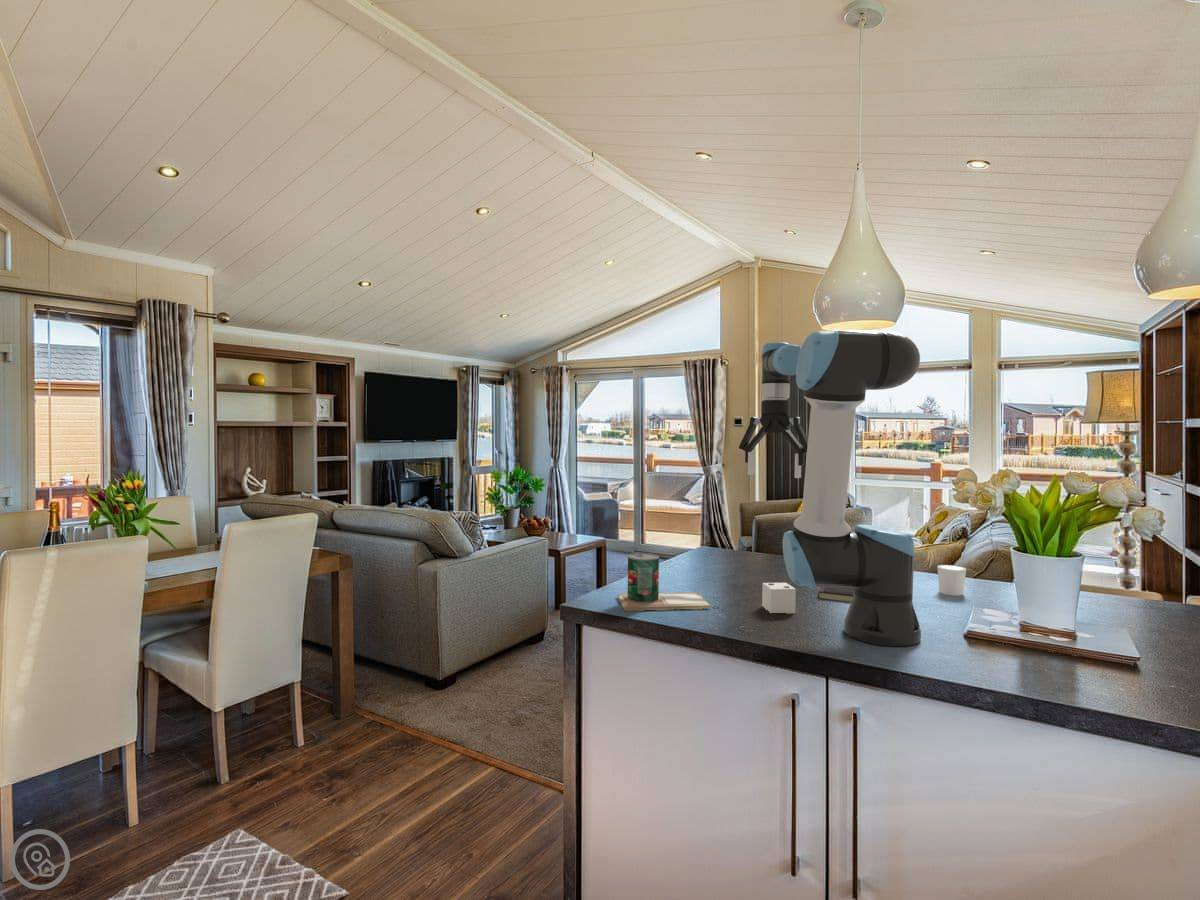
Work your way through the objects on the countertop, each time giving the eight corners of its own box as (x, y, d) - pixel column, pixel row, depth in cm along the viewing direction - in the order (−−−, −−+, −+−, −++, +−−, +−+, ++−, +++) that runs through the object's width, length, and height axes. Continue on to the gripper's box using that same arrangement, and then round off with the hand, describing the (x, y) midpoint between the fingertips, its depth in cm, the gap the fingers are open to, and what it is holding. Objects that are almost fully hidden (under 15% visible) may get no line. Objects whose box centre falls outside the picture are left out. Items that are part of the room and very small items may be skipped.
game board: (710, 609, 156) (710, 604, 156) (625, 611, 154) (625, 607, 154) (697, 595, 168) (697, 591, 168) (618, 597, 166) (618, 593, 166)
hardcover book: (887, 587, 181) (887, 579, 181) (884, 608, 160) (885, 599, 160) (827, 580, 188) (827, 572, 188) (817, 599, 167) (818, 591, 167)
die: (795, 613, 153) (795, 588, 153) (771, 614, 153) (771, 588, 152) (785, 606, 159) (785, 582, 159) (762, 606, 159) (762, 582, 158)
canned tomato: (665, 601, 159) (665, 557, 159) (638, 605, 155) (639, 560, 155) (646, 593, 166) (647, 551, 165) (621, 597, 162) (621, 554, 161)
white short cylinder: (969, 596, 169) (970, 570, 169) (942, 595, 170) (942, 569, 170) (959, 590, 176) (960, 564, 175) (932, 588, 177) (933, 563, 177)
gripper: (825, 399, 171) (823, 478, 172) (739, 400, 187) (738, 472, 188) (815, 398, 166) (813, 479, 167) (728, 399, 181) (726, 474, 182)
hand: (773, 476), depth 177 cm, fingers open, 13 cm apart
